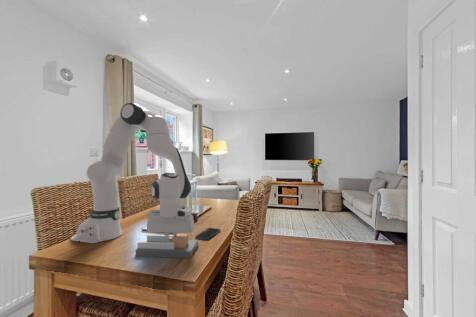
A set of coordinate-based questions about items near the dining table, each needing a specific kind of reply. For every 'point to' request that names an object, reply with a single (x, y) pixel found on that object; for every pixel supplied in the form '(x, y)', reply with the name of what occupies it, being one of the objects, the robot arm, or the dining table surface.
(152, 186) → the robot arm
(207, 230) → the phone
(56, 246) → the dining table surface
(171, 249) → the channel
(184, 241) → the block
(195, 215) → the decorative book
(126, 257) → the dining table surface
